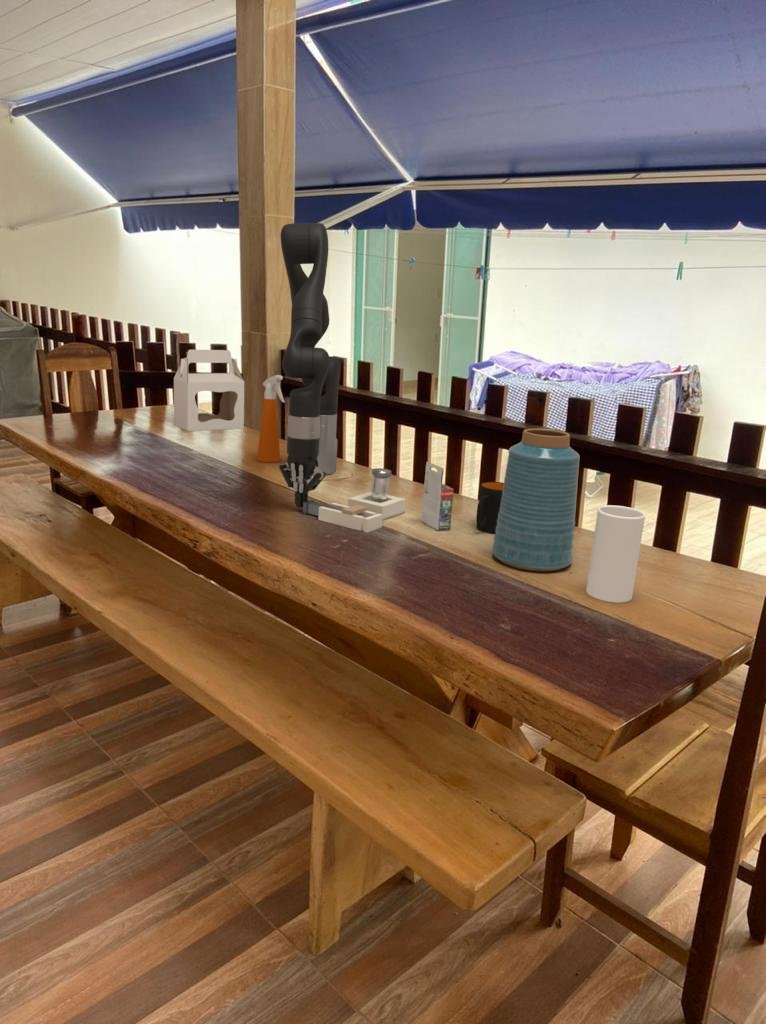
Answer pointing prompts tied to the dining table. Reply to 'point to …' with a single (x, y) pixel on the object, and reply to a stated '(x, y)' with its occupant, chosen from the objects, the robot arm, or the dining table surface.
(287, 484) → the robot arm
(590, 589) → the cup
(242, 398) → the gable box
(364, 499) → the socket block
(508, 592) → the dining table surface
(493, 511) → the mug
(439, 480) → the ink box
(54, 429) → the dining table surface
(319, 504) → the pin
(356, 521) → the pin guide
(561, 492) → the vase
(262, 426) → the spray bottle
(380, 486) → the salt shaker
